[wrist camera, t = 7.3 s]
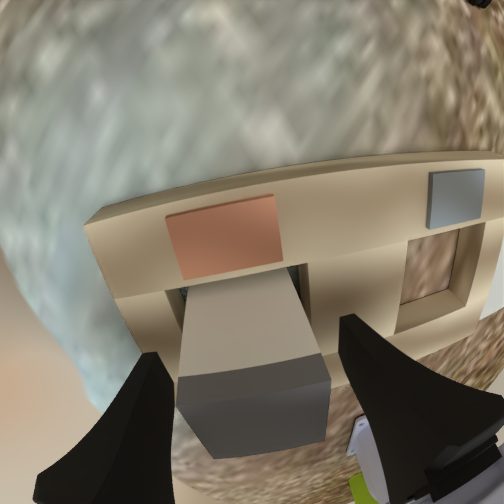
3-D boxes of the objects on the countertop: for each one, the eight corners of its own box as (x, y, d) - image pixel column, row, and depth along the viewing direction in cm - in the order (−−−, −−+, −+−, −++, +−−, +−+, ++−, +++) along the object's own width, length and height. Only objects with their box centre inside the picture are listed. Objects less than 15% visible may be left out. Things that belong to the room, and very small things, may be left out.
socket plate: (459, 316, 17) (476, 335, 15) (182, 389, 16) (181, 419, 14) (488, 150, 11) (517, 160, 9) (101, 207, 11) (79, 228, 9)
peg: (287, 321, 15) (324, 440, 8) (210, 334, 15) (213, 459, 8) (280, 252, 13) (331, 379, 7) (190, 269, 13) (175, 405, 6)
